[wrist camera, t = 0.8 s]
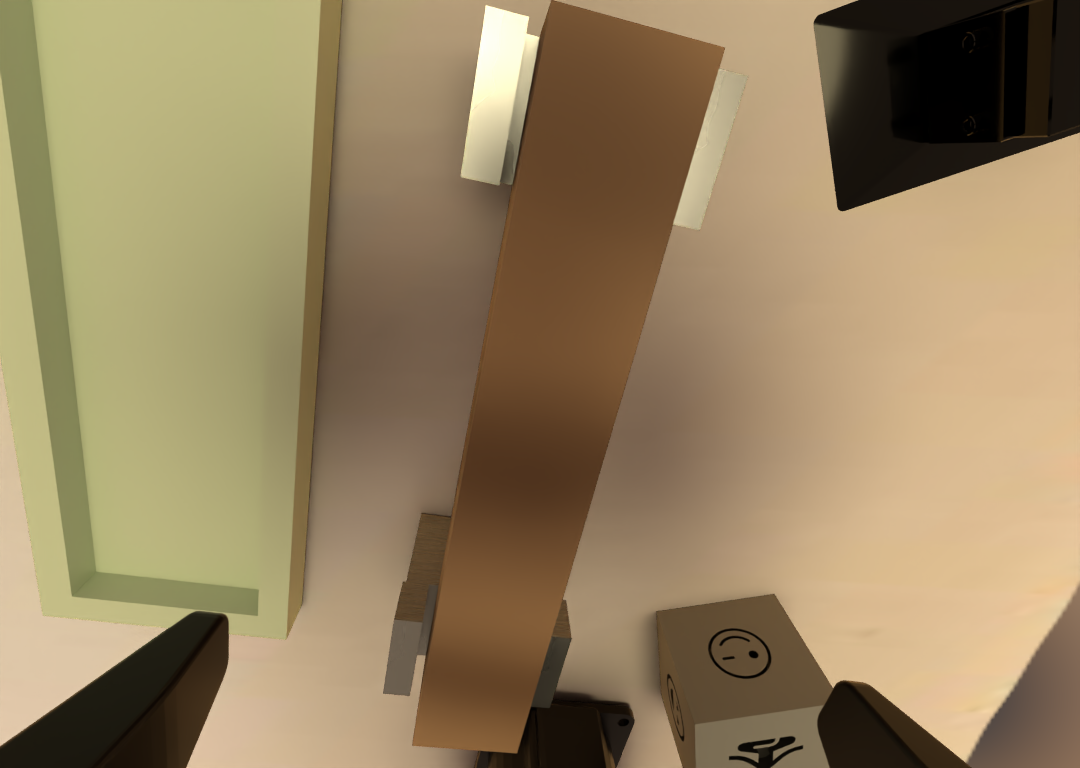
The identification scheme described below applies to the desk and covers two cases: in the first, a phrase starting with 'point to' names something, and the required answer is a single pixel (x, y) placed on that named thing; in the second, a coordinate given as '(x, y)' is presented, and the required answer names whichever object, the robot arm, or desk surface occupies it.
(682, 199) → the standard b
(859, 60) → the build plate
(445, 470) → the desk surface
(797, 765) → the dice cube
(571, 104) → the rail
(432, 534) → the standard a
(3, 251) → the tray
